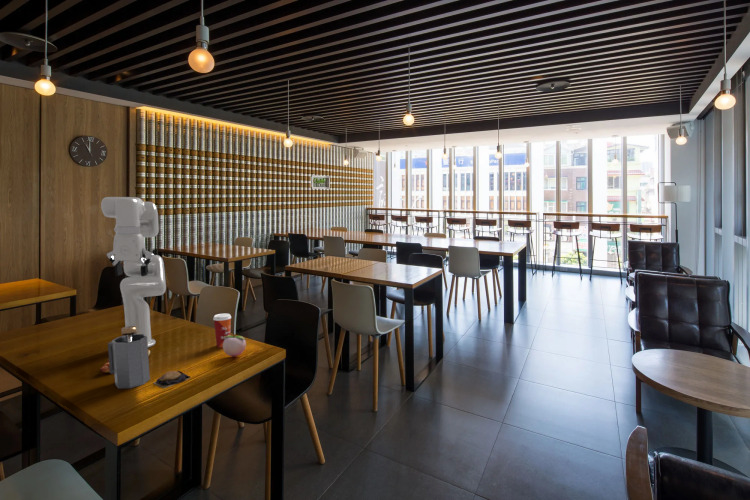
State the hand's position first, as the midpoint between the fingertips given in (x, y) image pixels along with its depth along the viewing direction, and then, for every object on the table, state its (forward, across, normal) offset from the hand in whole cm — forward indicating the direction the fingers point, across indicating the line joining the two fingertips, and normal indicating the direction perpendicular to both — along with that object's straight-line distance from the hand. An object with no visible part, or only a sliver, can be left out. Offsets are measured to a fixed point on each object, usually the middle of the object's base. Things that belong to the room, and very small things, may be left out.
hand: (131, 275), depth 149 cm
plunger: (+34, +8, -16) cm, 38 cm away
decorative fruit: (+36, +36, +8) cm, 51 cm away
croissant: (+37, -4, 0) cm, 37 cm away
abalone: (+36, +21, -14) cm, 44 cm away
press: (+35, +6, -16) cm, 39 cm away
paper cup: (+36, +26, +21) cm, 49 cm away
